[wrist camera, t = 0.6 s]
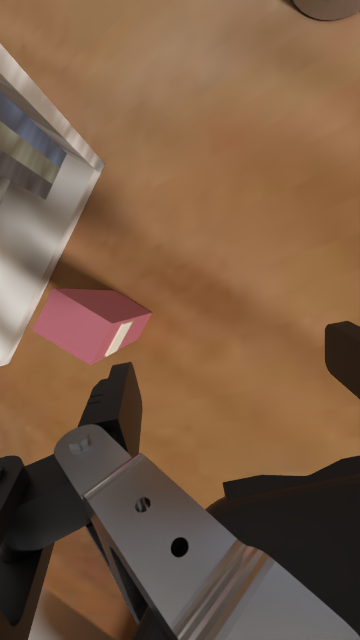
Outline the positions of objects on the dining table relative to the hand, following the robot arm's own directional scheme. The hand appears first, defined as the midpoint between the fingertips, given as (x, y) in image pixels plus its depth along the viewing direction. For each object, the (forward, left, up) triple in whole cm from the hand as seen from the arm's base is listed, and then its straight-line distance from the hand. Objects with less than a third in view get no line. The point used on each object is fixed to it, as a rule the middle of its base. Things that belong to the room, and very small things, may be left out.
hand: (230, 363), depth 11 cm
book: (+6, -9, -19) cm, 22 cm away
